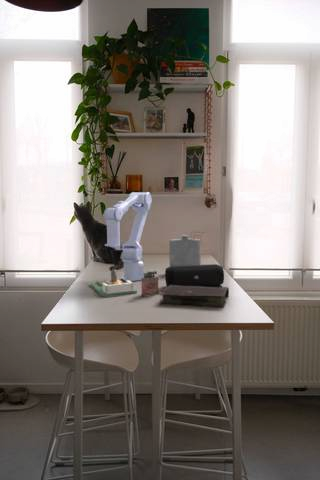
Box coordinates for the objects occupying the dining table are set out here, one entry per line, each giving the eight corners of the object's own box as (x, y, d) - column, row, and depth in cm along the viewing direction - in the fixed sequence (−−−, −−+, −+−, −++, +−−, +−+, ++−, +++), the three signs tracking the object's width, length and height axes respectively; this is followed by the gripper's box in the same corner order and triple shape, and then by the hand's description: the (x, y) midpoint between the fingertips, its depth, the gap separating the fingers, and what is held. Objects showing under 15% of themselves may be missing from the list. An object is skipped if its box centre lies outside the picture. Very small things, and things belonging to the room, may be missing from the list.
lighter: (143, 296, 196) (142, 273, 194) (140, 294, 199) (139, 271, 197) (160, 293, 199) (160, 271, 198) (156, 292, 202) (156, 269, 201)
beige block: (118, 285, 210) (118, 268, 209) (122, 287, 206) (121, 270, 205) (106, 286, 208) (105, 269, 207) (109, 289, 203) (108, 271, 202)
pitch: (120, 282, 223) (120, 278, 222) (136, 293, 202) (136, 288, 201) (90, 285, 217) (89, 281, 217) (103, 296, 196) (103, 292, 196)
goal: (128, 287, 207) (128, 280, 206) (133, 290, 201) (132, 282, 201) (102, 290, 202) (102, 282, 202) (106, 293, 197) (106, 285, 196)
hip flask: (169, 274, 240) (169, 235, 237) (170, 272, 244) (169, 234, 241) (200, 274, 239) (200, 235, 236) (200, 272, 243) (200, 234, 240)
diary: (170, 295, 200) (170, 283, 200) (228, 298, 194) (228, 286, 194) (159, 306, 183) (159, 293, 182) (223, 309, 176) (223, 296, 176)
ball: (122, 292, 202) (120, 286, 205) (123, 285, 200) (121, 279, 203) (113, 293, 201) (111, 287, 204) (114, 286, 198) (112, 280, 201)
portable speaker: (168, 290, 205) (167, 268, 204) (165, 285, 215) (164, 264, 214) (224, 288, 208) (224, 266, 207) (219, 283, 218) (219, 262, 217)
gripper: (100, 233, 218) (101, 261, 219) (109, 236, 204) (109, 266, 206) (115, 232, 220) (115, 260, 222) (124, 235, 207) (125, 265, 209)
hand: (113, 263), depth 214 cm, fingers open, 7 cm apart
